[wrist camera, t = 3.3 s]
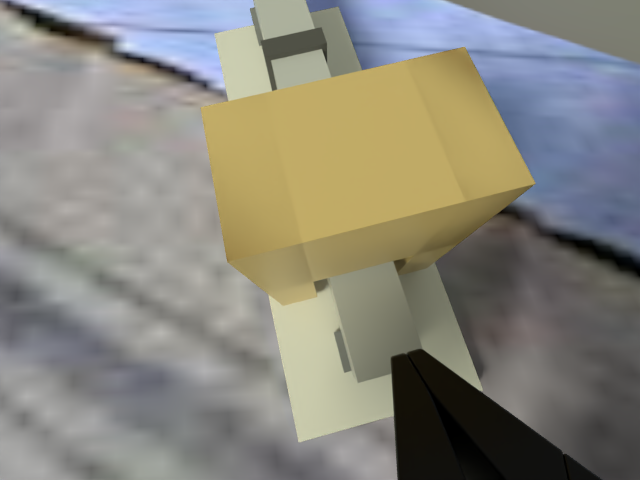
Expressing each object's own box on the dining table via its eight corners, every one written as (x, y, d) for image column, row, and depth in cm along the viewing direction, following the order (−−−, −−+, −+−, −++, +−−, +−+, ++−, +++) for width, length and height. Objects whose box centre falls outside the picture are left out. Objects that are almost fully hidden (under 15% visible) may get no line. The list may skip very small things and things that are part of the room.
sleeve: (426, 268, 15) (535, 183, 7) (283, 305, 15) (227, 262, 7) (399, 191, 16) (464, 46, 8) (265, 225, 16) (200, 107, 8)
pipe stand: (475, 387, 14) (538, 407, 10) (300, 436, 14) (287, 480, 10) (337, 18, 21) (340, -67, 17) (218, 44, 21) (188, -35, 17)
